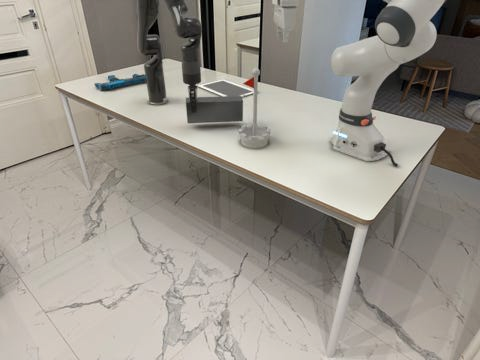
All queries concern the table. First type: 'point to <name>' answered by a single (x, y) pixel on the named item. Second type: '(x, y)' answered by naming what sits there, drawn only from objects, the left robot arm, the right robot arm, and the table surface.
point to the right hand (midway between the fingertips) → (282, 39)
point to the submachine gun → (120, 81)
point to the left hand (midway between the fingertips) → (194, 109)
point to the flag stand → (254, 121)
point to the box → (216, 109)
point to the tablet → (226, 88)
